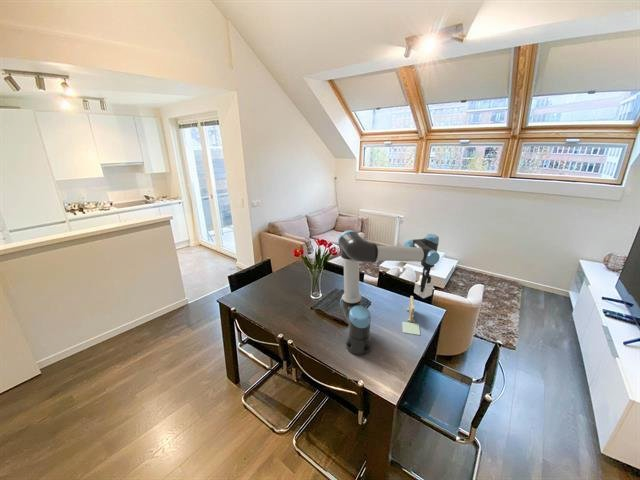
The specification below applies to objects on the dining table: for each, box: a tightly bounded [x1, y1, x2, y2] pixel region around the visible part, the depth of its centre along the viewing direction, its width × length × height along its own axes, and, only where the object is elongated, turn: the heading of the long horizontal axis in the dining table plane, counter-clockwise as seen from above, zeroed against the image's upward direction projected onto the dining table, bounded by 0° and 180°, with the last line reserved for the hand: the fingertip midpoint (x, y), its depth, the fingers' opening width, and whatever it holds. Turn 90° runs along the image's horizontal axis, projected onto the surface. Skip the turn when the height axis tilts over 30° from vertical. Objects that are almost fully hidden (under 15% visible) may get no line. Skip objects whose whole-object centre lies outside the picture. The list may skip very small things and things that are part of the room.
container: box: [413, 273, 434, 299], centre depth 164 cm, size 8×8×13 cm
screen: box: [406, 295, 416, 323], centre depth 175 cm, size 4×14×11 cm, turn 165°
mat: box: [401, 321, 421, 336], centre depth 165 cm, size 10×10×1 cm
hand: (423, 291), depth 166 cm, fingers closed on container, 10 cm apart
